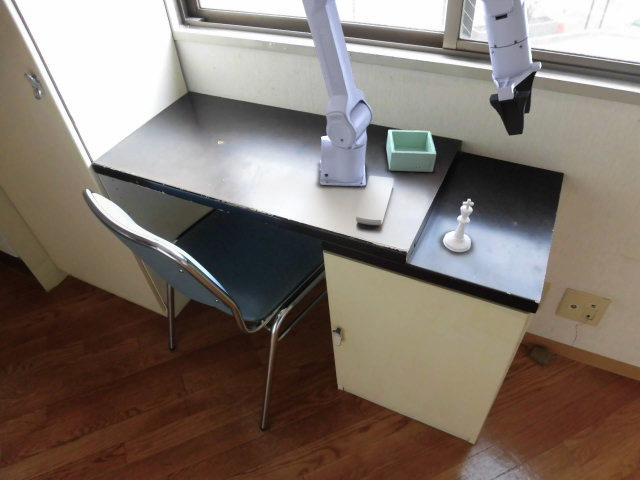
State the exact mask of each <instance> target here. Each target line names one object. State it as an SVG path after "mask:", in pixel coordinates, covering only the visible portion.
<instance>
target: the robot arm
mask: <svg viewBox="0 0 640 480" xmlns="http://www.w3.org/2000/svg"><path fill="white" fill-rule="evenodd" d="M301 1H302V7H303V9H304V12H305V16H306V20H307V23H308V27H309V30H310V34H311V39H312V42H313V44H314V48H315V52H316V55H317V58H318V59H317V60H318V63H319V66H320V70H321V73H322V77H323V81H324V84H325V87H326V91H327V95H328V100H327V105H326V108H325V118H326V127H325V132H326V135H324V136H321V140H320V141H321V142H320V161H318V162H319V163H318V169H319V171H320V180H319V181H320V182H319V183H320V185H321V186H339V187H340V186H343V187H344V186H345V187H366V186H367V179H366V165H365V164H366V163H365V162H366V152H367V144H368V143H367V142H368V135H367V127H369V126H370V124H371V123H372V122H373V118H374V112H373V109H372V107H371V105H370V104H369V103H368V101H367V99H366V97H365V93H364V91H363V90H361V89H359V88H358V87H357V85H356V80H355V76H354V72H353V69H352V65H351V64H352V63H351V60H350V56H349V52H348V47H347V44H346V40H345V35H344V31H343V26H342V23H341V19H340V15H339V10H338V7H337V6H338V5H337V2H336V0H301ZM481 2H482V6H483V12H484V15H483V19H484V23H485V24H484V25H485V31H486V37H487V44H488V52H489V57H490V64H491V70H492V73H491V79H492V81H493V83H494V85H495V86H496V90H497V93H492V94H490V96H489V98H488V101H489V105H490V106H491V107H492V108H493V109H494V110H495V112H497V114H498V115H499V117H500V119H501V121H502V124H503V126H504V128H505V132H506V134H507V135H508V137H509V136H518V135H519V136H520V135H523V133H524V128H525V114H530V111H531V106H532V96H533V95H532V94H533V86H534V81H535V77H536V74H537V73H538V71H540V70H541V68H542V62H541V61H536V62H533V59H532V48H531V40H530V31H529V23H528V22H529V21H528V13H527V3H526V1H525V0H481Z"/></svg>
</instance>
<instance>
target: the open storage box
mask: <svg viewBox="0 0 640 480" xmlns="http://www.w3.org/2000/svg"><path fill="white" fill-rule="evenodd" d="M387 130H388V131H387V138H386V146H385V148H386V155H387V163H388V171H393V172H394V171H395V172H421V173H422V172H423V173H425V172H426V173H432V172H433V171H434V166H435V162H436V159H437V158H436V157H437V151H436V148H435V144H434V140H433V136H432V132H431V130H415V129H414V130H412V129H411V130H410V129H409V130H408V129H387ZM414 167H415V168H414ZM416 167H417V168H416ZM419 167H420V168H419Z"/></svg>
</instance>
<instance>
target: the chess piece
mask: <svg viewBox="0 0 640 480" xmlns="http://www.w3.org/2000/svg"><path fill="white" fill-rule="evenodd" d="M474 205H475V203H474V201H472V200H471V198H467V201H462V205H461V206H460V215H459V216H458V217H457V218H456V220H457V222H458V225H457V228H456V229H455V230H454V231H453V230H452V231H449V232H447V233H445V235H444V237H443V239H442V242H443V245H444V246H445V247H446V248H447V249H448V250H450V251H452V252H455V253H464V252H468V250H470V249H471V246H472V245H471V244H472V240H471V238H470V236H468V234H465V230H466V229H465V228H466V225H468V224H469V223H470V222H471V220H470V217H469V216H470V215H471V214H472V213H473V210H474V209H473V208H472V207H473V206H474Z"/></svg>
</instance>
